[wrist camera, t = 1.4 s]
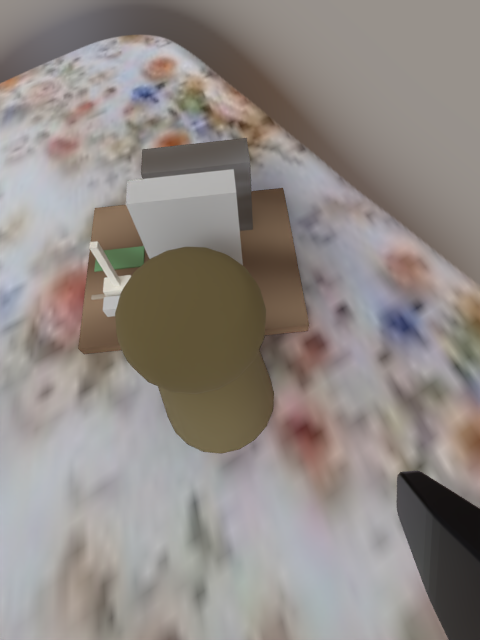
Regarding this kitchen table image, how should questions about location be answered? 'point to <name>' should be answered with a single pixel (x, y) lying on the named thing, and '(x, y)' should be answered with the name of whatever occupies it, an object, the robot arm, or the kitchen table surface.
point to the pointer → (108, 272)
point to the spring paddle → (184, 215)
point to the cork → (199, 344)
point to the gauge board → (255, 234)
